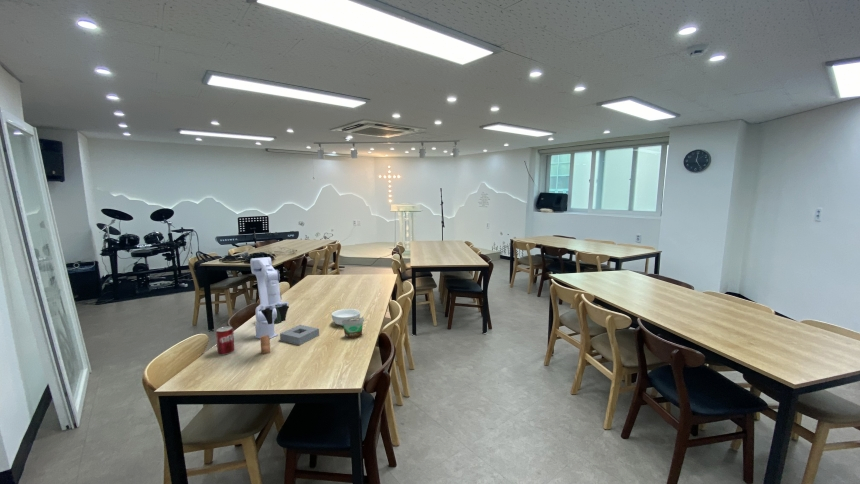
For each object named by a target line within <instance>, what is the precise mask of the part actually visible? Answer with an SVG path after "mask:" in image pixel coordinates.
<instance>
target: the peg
mask: <svg viewBox="0 0 860 484" xmlns="http://www.w3.org/2000/svg"><path fill="white" fill-rule="evenodd" d="M270 339H271V338H269V335H264V336H261V337H260V338H259V341H260V352H261V354H262V355H267V354H270V353H271V342H270Z"/></svg>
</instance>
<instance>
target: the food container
mask: <svg viewBox="0 0 860 484" xmlns="http://www.w3.org/2000/svg"><path fill="white" fill-rule="evenodd" d="M364 318H365V317H364V316H362V317H360V318H353V319H349V320H342V323H343V326H342V327H343V332H344V337H345V338H348V339H356V338H359V337H361V336H363V324H364V323H363V322H364V321H365V319H364Z"/></svg>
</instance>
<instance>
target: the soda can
mask: <svg viewBox="0 0 860 484" xmlns="http://www.w3.org/2000/svg"><path fill="white" fill-rule="evenodd" d="M234 334H235V333H234V328H233V326H222V327H219V328H217V329H216V331H215V339H216V340H215V341H216V350H217V351H216V353H217V354H218V355H220V356H226V355H231V354H232V353H233V352H234V351H235V349H236V348H235V335H234Z"/></svg>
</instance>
